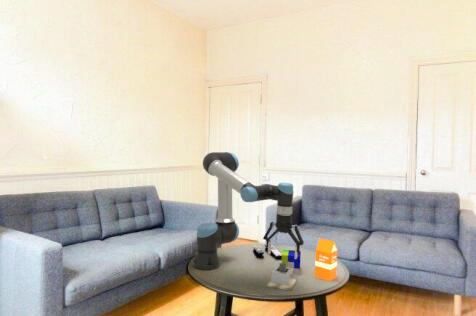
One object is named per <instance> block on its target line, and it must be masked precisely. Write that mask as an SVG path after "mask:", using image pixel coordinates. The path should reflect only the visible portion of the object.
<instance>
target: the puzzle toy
mask: <svg viewBox="0 0 476 316" xmlns="http://www.w3.org/2000/svg"><path fill="white" fill-rule="evenodd" d="M301 253H302V252H301V250H300V251H299V252H297V258H296V259H295V249H292V250H291V249H282V253H281V263H286V267H288V268H293V275H298V276H301V256H302V255H301Z"/></svg>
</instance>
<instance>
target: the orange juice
mask: <svg viewBox="0 0 476 316" xmlns="http://www.w3.org/2000/svg"><path fill="white" fill-rule="evenodd" d="M314 260H315V262H314V263H315V265H314V267H315V269H314V277H315V278H318V279H321V280H325V281H328V282H331V281H333V280H334V279H336V278H337V271H338V270H337V268H338V248H337V245H336V242H335V241H334V240H329V239H326V238H325V239H324V238H319V239H318V241H317V246H316V249H315V259H314Z"/></svg>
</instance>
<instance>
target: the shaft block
mask: <svg viewBox="0 0 476 316" xmlns="http://www.w3.org/2000/svg"><path fill="white" fill-rule="evenodd" d="M278 266H279V271H280V272H286V263H282V262H280V263H279V265H278ZM296 284H297V279H295V278H293V281H292V282H291V284H290V286H289V287H288V286H282V285H277V284H271V279H270V280H269V281H268V283H267V288H268V287H269V288H272V289H273V288H274V289H281V290H285V291H290V292H292V290H293V289H294V287H295V285H296Z"/></svg>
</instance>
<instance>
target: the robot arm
mask: <svg viewBox="0 0 476 316" xmlns="http://www.w3.org/2000/svg"><path fill="white" fill-rule="evenodd" d="M239 165H240V162H239V159H238V157H237V155H236V154H234V153H233V152H230V151H229V152H228V151H226V152H222V151H221V152H219V151H218V152H217V151H216V152H215V151H212V152H209V153H207V154H206V155H205V156H204V157H203V160H202V167H203V169H204V171H205V172H206V173H207V174H208V175H211V176H212V177H216V178H217V218H216V219H215V222H206V223H202V224H200V225H198V227H197V229H196V252H195V255H194V259H193V263H192V266H193V268H195V269H197V270H201V271H210V270H216V269H218V268H219V267H220V266H221V265H220V264H221V262H220V257H219V254H218V246H220V245H223V244H224V245H225V244H231V243H232V242H234V241H236V240H237V239H238V237H239V235H240V228H239V226H238V224H237V223H236V220H235V219H234V218H233V190H234V191H236V192H237V193H239V195H240V198H241V199H242V201H243V202H244V203H254V202H260V201H267V200H270V201H271V200H272V201H276V202H277V203H276V207H277V208H276V222H274V221H270V223H269V227H268V228H267V230H266V232H265V233H264V236H263V238H262V240H265V241H266V248H267V255H271V253H272V240H271V239H272V238H273V237H275V235H277V233H278V232H280V233H281V234H282V233H283V234H288V236H290V237H291V239H292V241H293V242H294V243H295V247H294V251H295V259H296V258H297V252H299V251H301V246H303V245H304V244H305V242H304V240H303V237H302V234H301V232H300V230H299V225H298V224H294V225H293V215H292V214H293V201H294V200H293V199H294V185H293V184H292V182H291V183H290V182H279V183H278V185H274V184H269V183H261V185H254V184H252V183H251V182H249V181H248V180H246V179H245V178H244V177H242V176H240V174H237V173H236V172H237V170H238V168H239ZM274 227H275V228H276V230H274V231H273V233H271V234H270V232H271V231H272V229H273V228H274ZM292 229H293V230H294V231H292ZM294 232H295V233H294ZM295 234H296V235H295ZM268 236H269V237H268ZM296 236H297V237H296Z"/></svg>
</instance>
